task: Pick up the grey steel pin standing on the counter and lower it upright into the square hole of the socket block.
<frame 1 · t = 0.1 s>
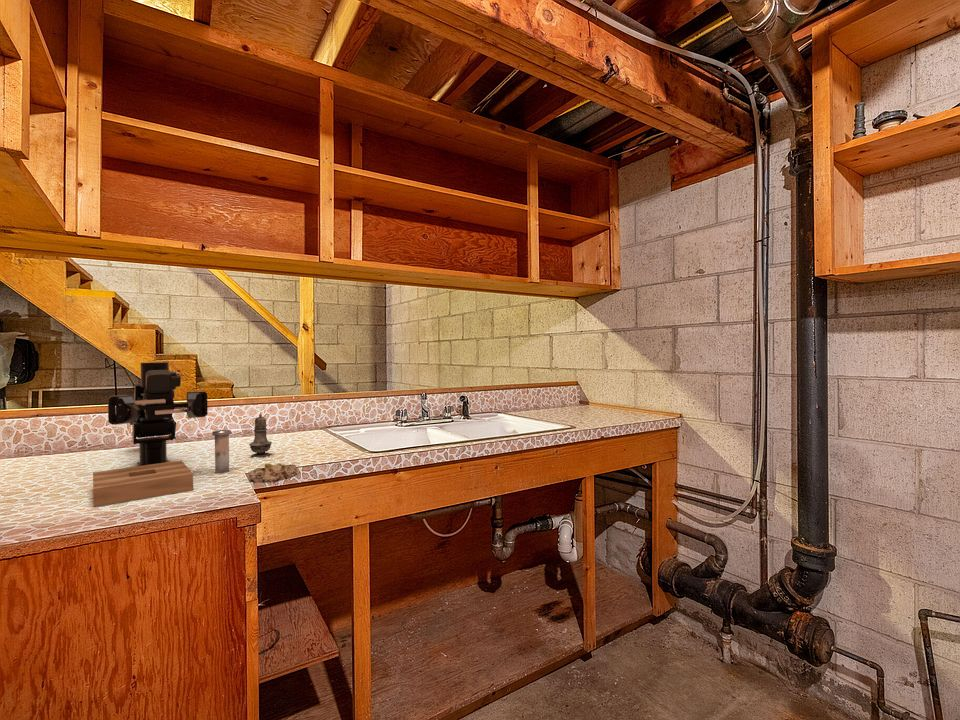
hand: (164, 410, 98), 17 cm above the counter, tool horizontal, fingers open, 9 cm apart
salt shaker: (260, 456, 127), on the counter
mineral rock: (274, 479, 105), on the counter
socket block: (142, 489, 96), on the counter
pin: (222, 471, 110), on the counter
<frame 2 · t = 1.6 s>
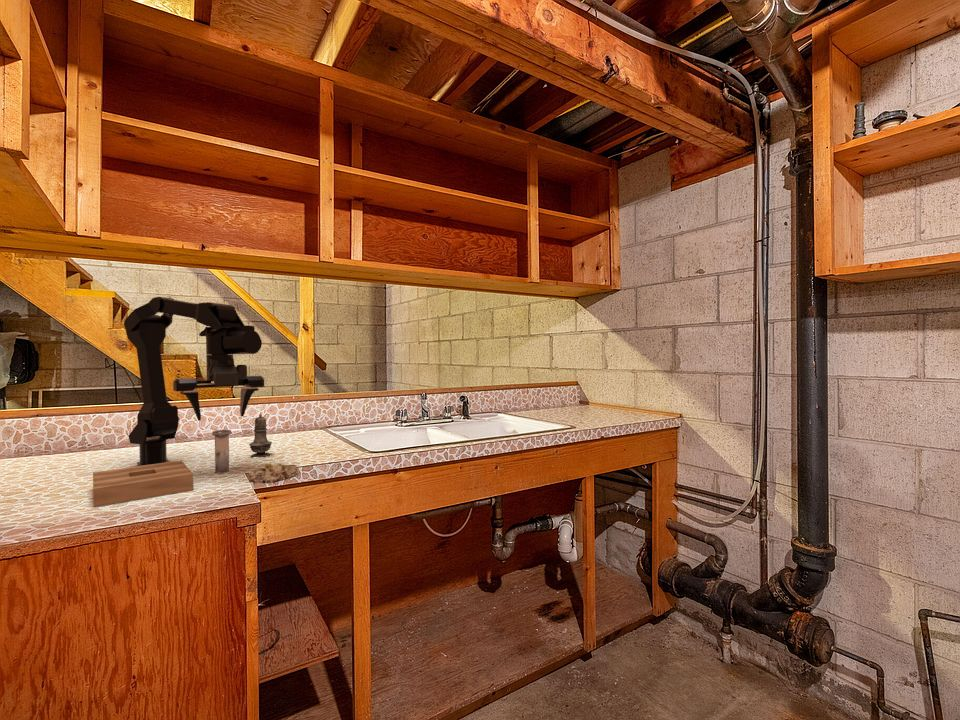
hand: (221, 418, 110), 13 cm above the counter, tool pointing down, fingers open, 9 cm apart
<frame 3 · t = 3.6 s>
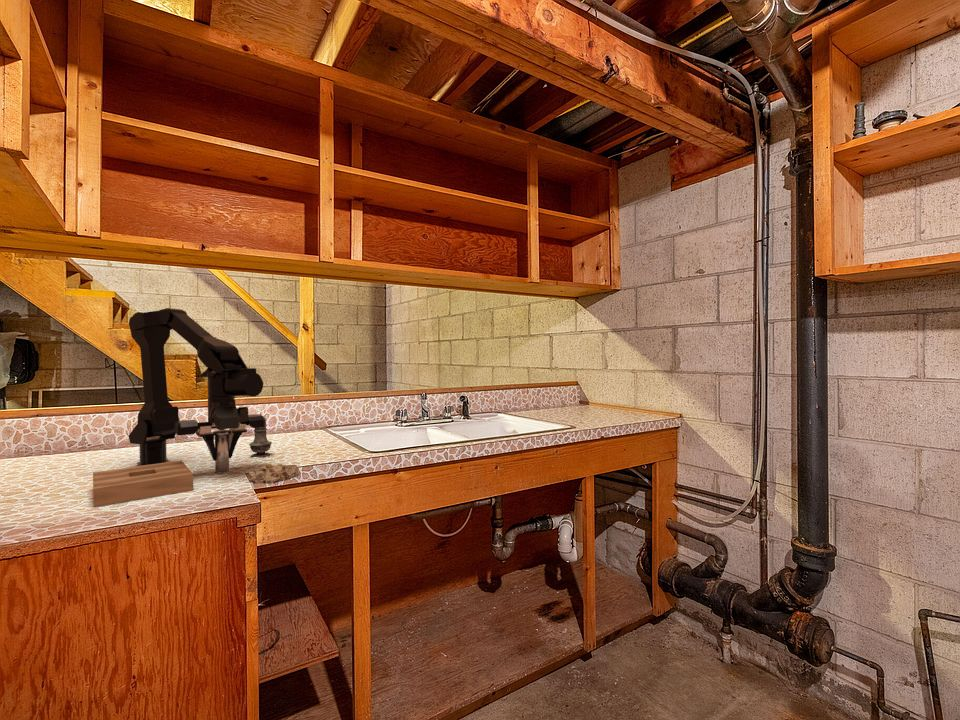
hand: (222, 459, 110), 3 cm above the counter, tool pointing down, fingers closed on pin, 3 cm apart
pin: (222, 471, 110), on the counter, touching gripper
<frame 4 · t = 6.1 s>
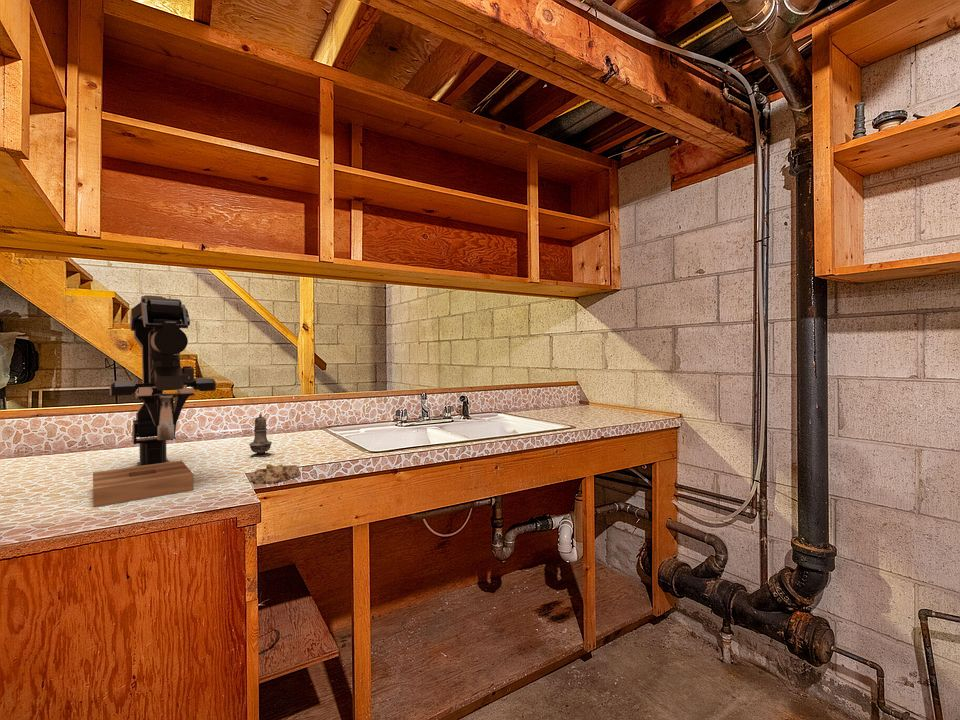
hand: (165, 425, 99), 13 cm above the counter, tool pointing down, fingers closed on pin, 3 cm apart
pin: (166, 439, 99), point 10 cm above the counter, touching gripper
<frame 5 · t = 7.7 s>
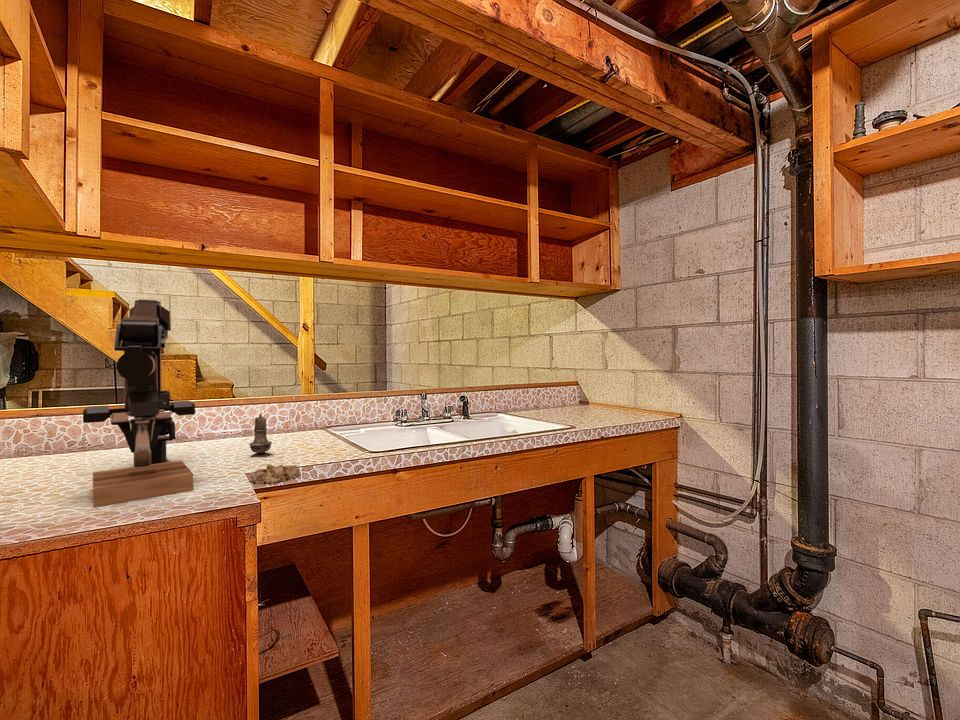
hand: (142, 451, 96), 8 cm above the counter, tool pointing down, fingers closed on pin, 3 cm apart
pin: (142, 465, 96), point 5 cm above the counter, touching gripper
when the fingers open (4 cm above the counter, at t = 8.8 s): pin drops 1 cm, resting in socket block.
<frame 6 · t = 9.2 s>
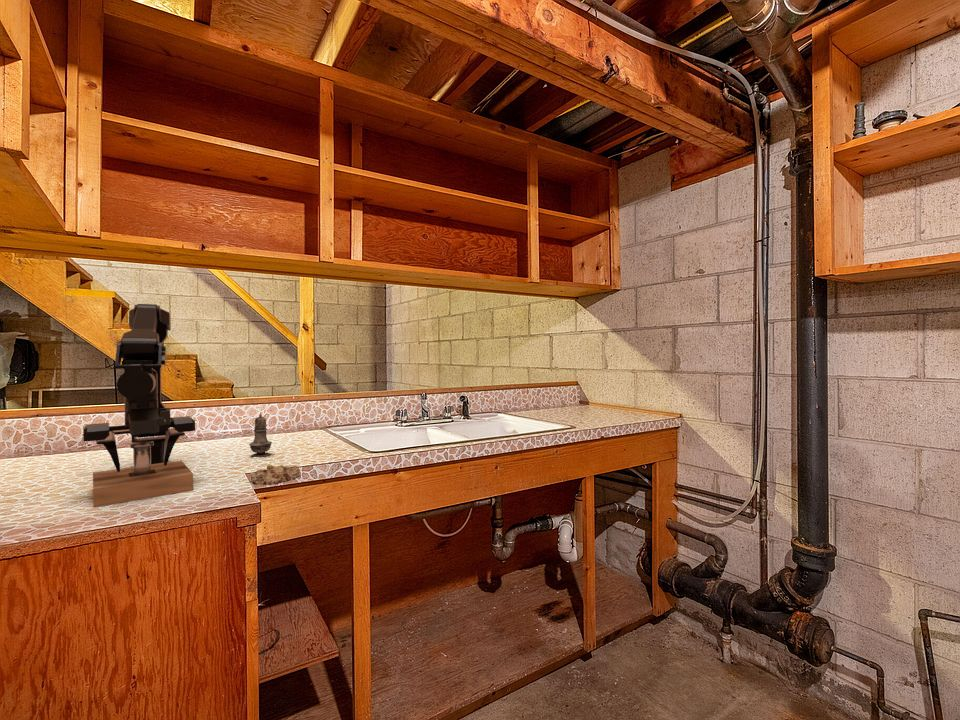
hand: (142, 468, 96), 4 cm above the counter, tool pointing down, fingers open, 8 cm apart
pin: (142, 489, 96), resting in socket block
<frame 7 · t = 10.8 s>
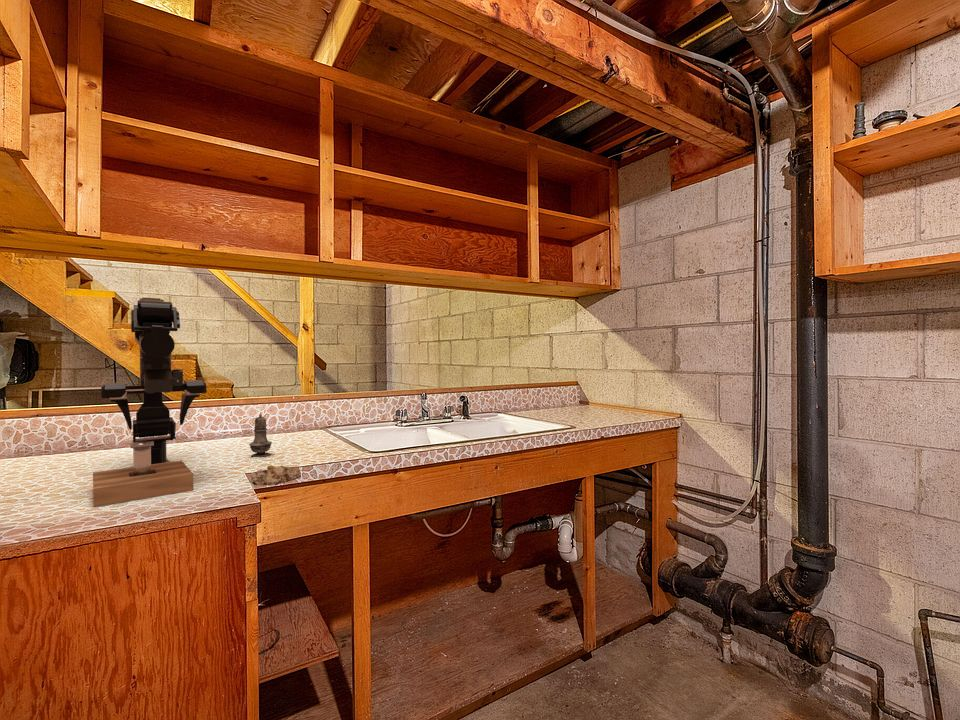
hand: (156, 427, 100), 13 cm above the counter, tool pointing down, fingers open, 9 cm apart
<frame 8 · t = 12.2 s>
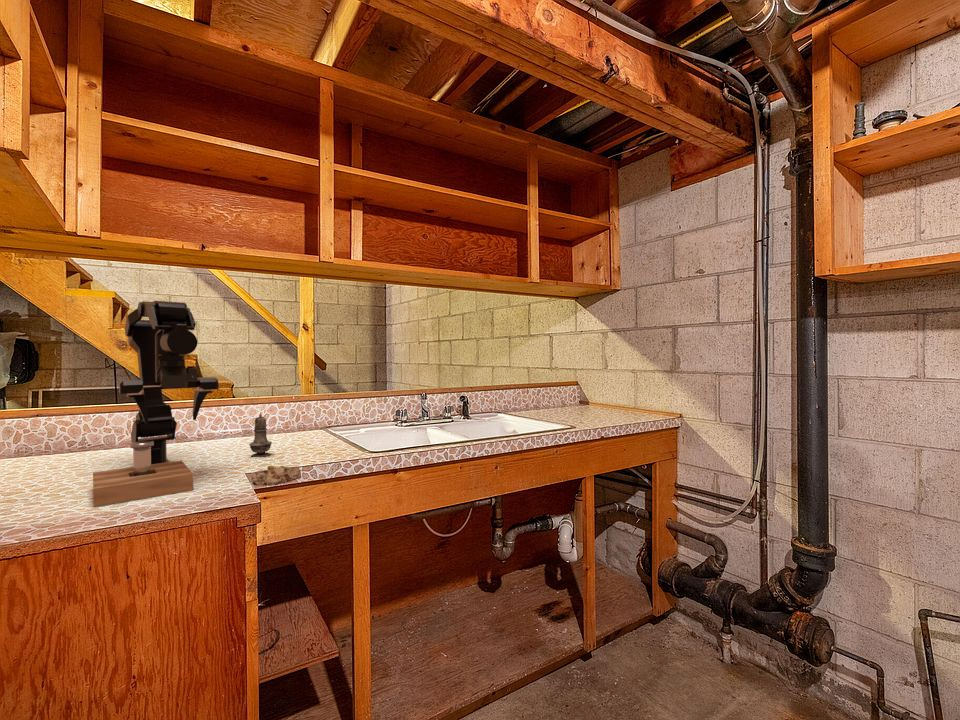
hand: (171, 422, 105), 13 cm above the counter, tool pointing down, fingers open, 9 cm apart
at the end: pin 0.0 cm off-centre on the socket block, point 0.0 cm above the socket block's base; pin tilted 0°; the gripper is holding nothing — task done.
